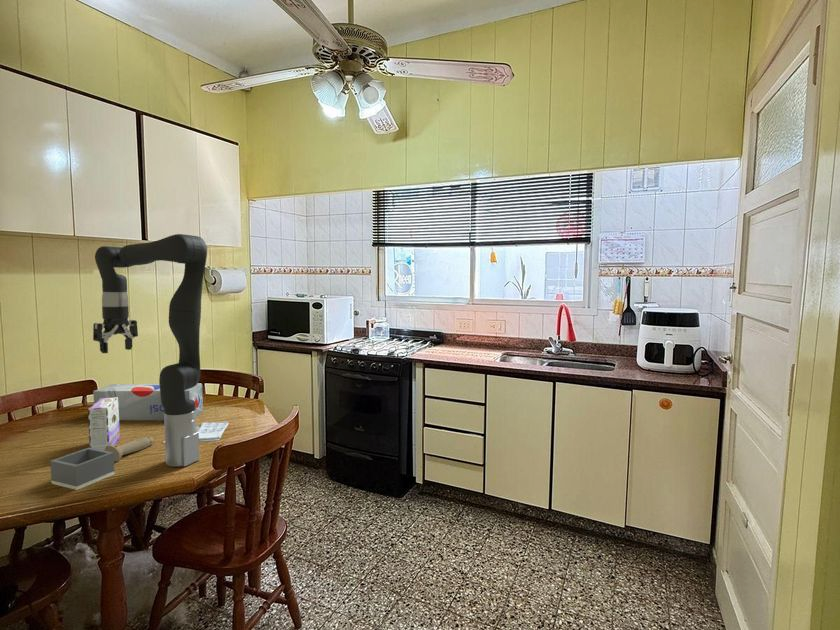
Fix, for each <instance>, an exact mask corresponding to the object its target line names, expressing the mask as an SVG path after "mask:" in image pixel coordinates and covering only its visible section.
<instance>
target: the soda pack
mask: <svg viewBox="0 0 840 630" xmlns="http://www.w3.org/2000/svg"><path fill="white" fill-rule="evenodd" d="M92 394H93V405H94V404H95V403H96V402H97V401H98V400H100V399H101V398H114V397H118V406H119V421H164V408H163V406H162V403H161V395H160V385H159V383H126V384H125V383H119V384H118V383H112V384H109V385H106V386H103V387H100V388H99V389H96V390H93V391H92ZM185 397H186V399H190V400H194V401H195V403H196V417H198V416H199V415H200V414H201V413H203V412H204V403H203V401H204V400H203V397H204V396H203V383H198V384H197V385H196V386H194V387H192V388H190V389H187V390H185Z"/></svg>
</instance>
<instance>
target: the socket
mask: <svg viewBox="0 0 840 630" xmlns="http://www.w3.org/2000/svg"><path fill="white" fill-rule="evenodd" d="M49 461H50V479H51V480H50V481H51V484H52V485H56V486H59V487H64V488H67V489H71V490H76V491H78V490H80V489H82V488H85V487H88V486H90V485H93V484H94V483H97V482H99V481H102V480H104V479H106V478H108V477H111V476H113V475H115V462H114V452H109V451H104V450H99V449H94V448H90V447H87V448H86V447H85V448H84V449H81V450H78V451H75V452H72V453H68V454H67V455H66V454H65V455H63V456H60V457H58V458H55V459H51V460H49Z"/></svg>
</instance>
